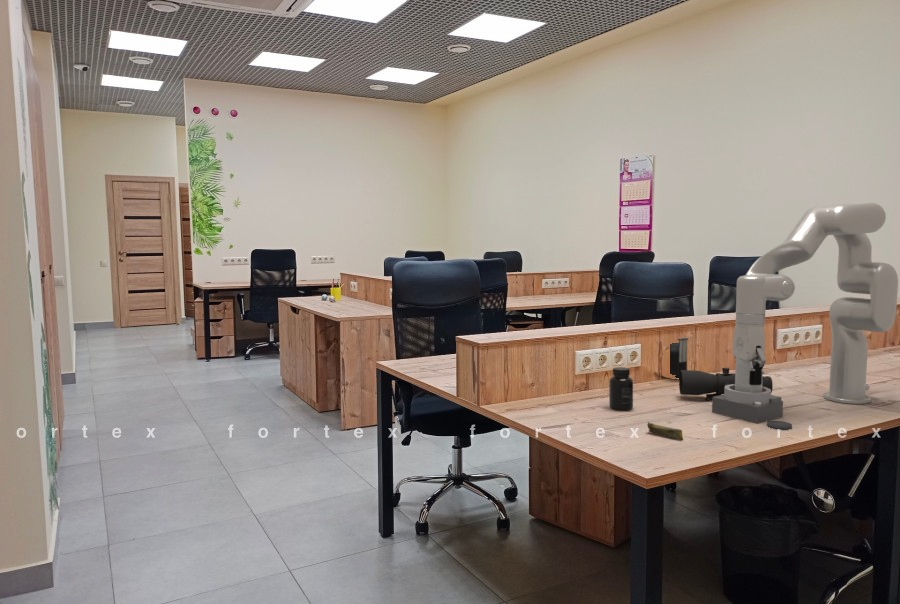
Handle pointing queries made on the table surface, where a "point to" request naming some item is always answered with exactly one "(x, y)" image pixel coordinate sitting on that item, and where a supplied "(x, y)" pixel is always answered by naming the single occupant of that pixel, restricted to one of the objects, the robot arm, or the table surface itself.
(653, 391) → the table surface
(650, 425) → the snack bar
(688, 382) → the rifle scope
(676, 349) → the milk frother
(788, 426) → the lens cap
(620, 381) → the supplement bottle
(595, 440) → the table surface
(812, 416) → the table surface
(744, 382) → the skincare box
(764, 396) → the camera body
